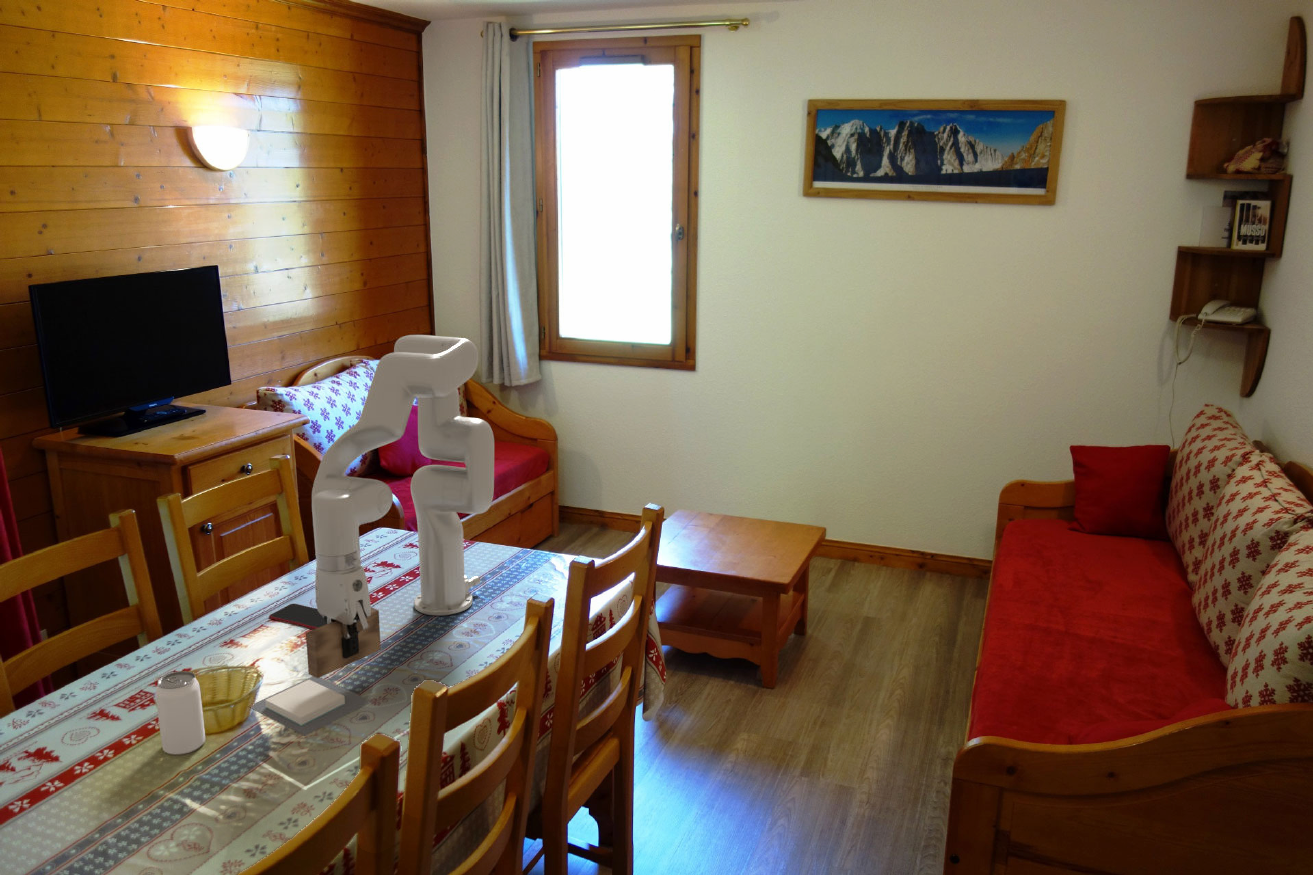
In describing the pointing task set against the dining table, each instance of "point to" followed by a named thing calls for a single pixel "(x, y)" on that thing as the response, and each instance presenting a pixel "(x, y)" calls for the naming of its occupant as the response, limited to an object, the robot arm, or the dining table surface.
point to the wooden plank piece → (339, 645)
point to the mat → (350, 705)
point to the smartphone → (299, 616)
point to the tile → (305, 702)
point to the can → (180, 713)
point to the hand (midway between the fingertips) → (345, 652)
